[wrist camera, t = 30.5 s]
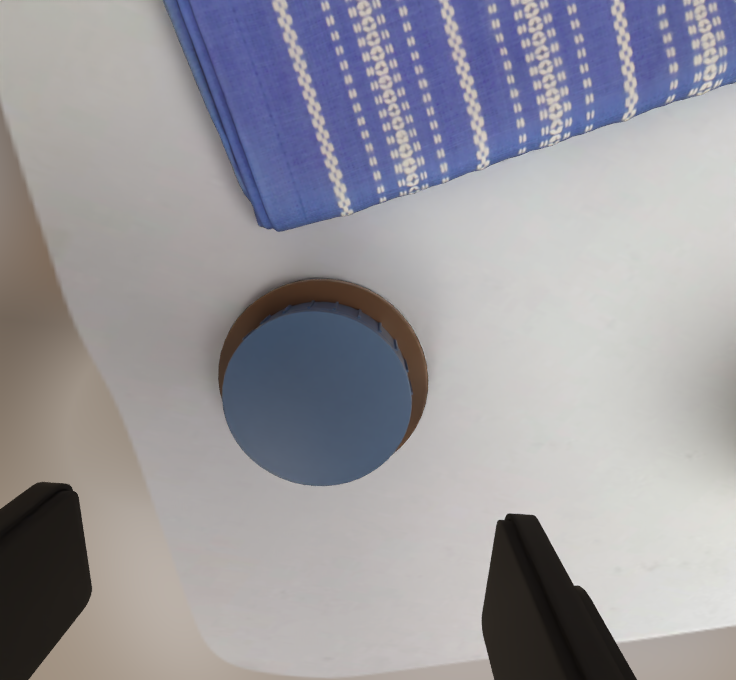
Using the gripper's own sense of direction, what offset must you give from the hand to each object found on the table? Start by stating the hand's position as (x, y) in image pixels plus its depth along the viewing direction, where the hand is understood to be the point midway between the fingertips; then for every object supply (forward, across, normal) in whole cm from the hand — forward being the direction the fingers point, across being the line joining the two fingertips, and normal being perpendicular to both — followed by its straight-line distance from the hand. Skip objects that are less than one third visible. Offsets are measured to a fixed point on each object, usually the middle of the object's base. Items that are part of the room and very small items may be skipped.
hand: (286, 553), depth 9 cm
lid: (+7, 0, 0) cm, 7 cm away
